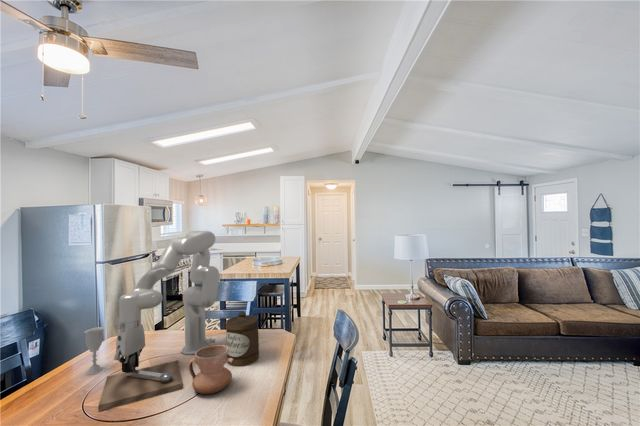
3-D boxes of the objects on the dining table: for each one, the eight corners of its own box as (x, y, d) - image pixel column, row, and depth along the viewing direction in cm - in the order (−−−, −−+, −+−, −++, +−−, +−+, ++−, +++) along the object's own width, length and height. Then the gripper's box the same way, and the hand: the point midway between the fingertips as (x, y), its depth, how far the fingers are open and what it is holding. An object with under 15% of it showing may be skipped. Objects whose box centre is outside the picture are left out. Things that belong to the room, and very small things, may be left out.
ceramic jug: (240, 378, 120) (239, 343, 120) (225, 399, 105) (224, 359, 106) (199, 377, 122) (199, 342, 123) (178, 397, 108) (178, 358, 108)
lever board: (177, 364, 132) (177, 359, 132) (181, 388, 113) (181, 382, 113) (107, 381, 119) (107, 376, 119) (98, 411, 100) (98, 404, 100)
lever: (175, 377, 117) (175, 357, 117) (167, 383, 112) (166, 362, 113) (131, 371, 122) (131, 351, 123) (122, 376, 118) (122, 356, 118)
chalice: (92, 376, 123) (92, 333, 124) (79, 375, 125) (79, 332, 125) (108, 368, 131) (108, 327, 131) (96, 366, 132) (96, 326, 132)
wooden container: (219, 363, 133) (218, 314, 133) (239, 349, 147) (239, 305, 147) (246, 369, 127) (245, 318, 128) (265, 354, 141) (264, 308, 142)
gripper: (118, 332, 111) (118, 381, 111) (154, 318, 127) (154, 360, 127) (103, 331, 113) (103, 378, 113) (140, 317, 129) (140, 359, 129)
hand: (130, 368), depth 120 cm, fingers closed on lever, 3 cm apart
